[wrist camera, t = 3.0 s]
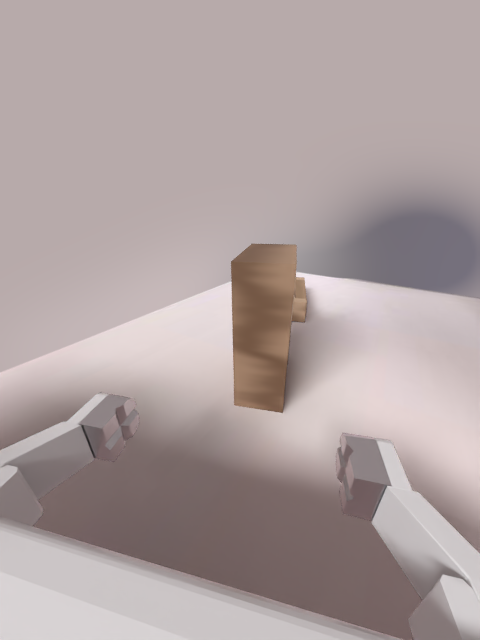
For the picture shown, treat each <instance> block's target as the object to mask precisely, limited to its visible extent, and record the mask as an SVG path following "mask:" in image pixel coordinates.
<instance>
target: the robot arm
mask: <svg viewBox="0 0 480 640" xmlns="http://www.w3.org/2000/svg"><path fill="white" fill-rule="evenodd" d="M135 407H136V402H135V399H133V398H128V397H123V396H118V395H113V394H107V393H102V392H100V393H98V394H96V395H95V396H94V397H93V398H92V399H90V400H89V401H88V402H87V403H86V404H85V405H84V406H83V407H82V408H81V409H80V410H79V411H77V412H76V413H75V414H74V415H73V416H72V417H71V418H70V419H69V420H68V421H67V422H61V423H58V424H56V425H54V426H52V427H50V428H47V429H45V430H43V431H41V432H39V433H37V434H34V435H32V436H30V437H28V438H26V439H24V440H21V441H19V442H17V443H15V444H13V445H10V446H8V447H6V448H4V449H2V450H0V640H404V639H400V638H397V637H394V636H390V635H387V634H384V633H381V632H377V631H374V630H371V629H368V628H364V627H361V626H358V625H354V624H351V623H348V622H345V621H341V620H338V619H335V618H331V617H328V616H325V615H322V614H318V613H315V612H312V611H309V610H305V609H302V608H299V607H295V606H292V605H289V604H286V603H282V602H279V601H276V600H273V599H269V598H266V597H263V596H259V595H256V594H253V593H250V592H246V591H243V590H240V589H236V588H233V587H230V586H227V585H223V584H220V583H217V582H214V581H210V580H207V579H204V578H200V577H197V576H194V575H191V574H187V573H184V572H181V571H178V570H174V569H171V568H168V567H164V566H161V565H158V564H155V563H151V562H148V561H145V560H141V559H138V558H135V557H132V556H128V555H125V554H122V553H119V552H115V551H112V550H109V549H105V548H102V547H99V546H96V545H92V544H89V543H86V542H82V541H79V540H76V539H73V538H69V537H66V536H63V535H59V534H56V533H53V532H50V531H46V530H43V529H40V528H37V527H33V526H34V524H35V523H36V522H37V521H38V520H39V518H40V517H41V516H42V515H43V510H44V509H43V508H42V506H41V504H40V503H39V501H38V500H39V499H40V498H42V497H43V496H44V495H46V494H47V493H49V492H50V491H51V490H53V489H54V488H56V487H57V486H58V485H60V484H61V483H63V482H64V481H65V480H67V479H68V478H70V477H71V476H72V475H74V474H75V473H77V472H78V471H79V470H81V469H82V468H84V467H85V466H86V465H88V464H89V463H91V462H92V461H93V460H94V458H95V459H100V460H105V461H111V462H115V460H116V459H117V457H118V456H119V455H120V453H121V452H122V451H123V449H124V448H125V441H126V440H128V439H130V438H131V437H133V435H134V434H135V432H136V431H137V428H138V425H139V419H140V418H139V413H138V412H137V411H136V410H135V409H134V408H135ZM340 444H341V447H340V448H338V449H337V454H336V472H337V478H338V479H339V481H340V482H341V483H342V484H341V488H340V491H339V492H340V499H341V505H342V511H343V514H346V515H350V516H354V517H358V518H362V519H366V520H369V521H372V522H371V523H372V524H373V526H374V527H375V529H376V530H377V532H378V533H379V535H380V536H381V538H382V540H383V541H384V543H385V544H386V546H387V547H388V549H389V550H390V552H391V553H392V555H393V556H394V558H395V559H396V561H397V563H398V564H399V566H400V567H401V569H402V570H403V572H404V573H405V575H406V576H407V578H408V579H409V581H410V582H411V584H412V586H413V587H414V589H415V590H416V592H417V593H418V595H419V596H420V598H421V599H422V602H421V603H420V604H419V606H418V607H417V608H416V610H415V611H414V612H413V613H412V615H411V616H410V617H409V619H408V621H409V625H410V629H411V632H412V636H413V640H480V553H479V552H478V551H477V550H476V549H475V548H474V547H473V546H472V545H471V544H470V543H469V542H468V541H467V540H466V539H465V538H464V537H463V536H462V535H461V534H460V533H459V532H458V531H457V530H456V529H455V528H454V527H453V526H452V525H451V524H450V523H449V522H448V521H447V520H446V519H445V518H444V517H443V516H442V515H441V514H440V513H439V512H438V511H437V510H436V509H435V508H434V507H433V506H432V505H431V504H430V503H429V502H428V501H427V500H426V499H425V498H424V497H423V496H422V495H421V494H420V493H419V492H416V491H413V490H412V488H411V485H410V483H409V480H408V478H407V476H406V473H405V471H404V469H403V466H402V464H401V461H400V459H399V457H398V454H397V452H396V449H395V447H394V445H393V443H392V442H391V441H390V440H385V439H379V438H373V437H368V436H361V435H355V434H348V433H342V435H341V437H340Z"/></svg>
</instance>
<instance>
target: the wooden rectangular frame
mask: <svg viewBox="0 0 480 640" xmlns="http://www.w3.org/2000/svg"><path fill="white" fill-rule="evenodd" d="M306 306H307V299H306V290H305V280H304V278H299V277H296V280H295V290H294V301H293V311H292V321H297V322H305V314H306Z"/></svg>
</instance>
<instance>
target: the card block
mask: <svg viewBox="0 0 480 640" xmlns="http://www.w3.org/2000/svg"><path fill="white" fill-rule="evenodd" d="M296 264H297V260H296V245H283V244H282V245H280V244H251V245H250V246H249V247H248V248H247V249H245V250H244V251H243V252H242V253H241V254H240V255H238V256H237V257H236V258H235V259H234V260H233V261H231V274H232V320H233V365H234V405H236V406H243V407H249V408H255V409H262V410H268V411H275V412H281V413H282V412H283V401H284V391H285V380H286V370H287V363H288V353H289V342H290V332H291V322H292V311H293V301H294V290H295V280H296Z"/></svg>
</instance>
